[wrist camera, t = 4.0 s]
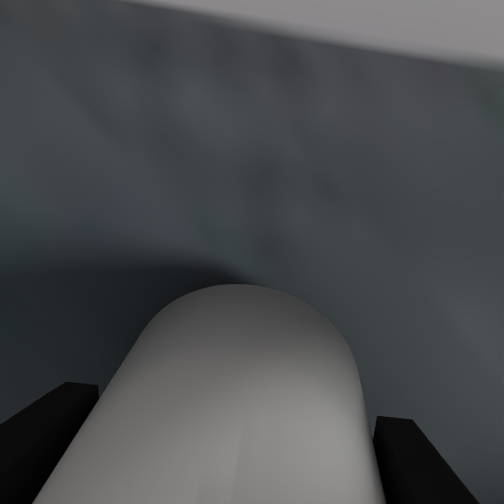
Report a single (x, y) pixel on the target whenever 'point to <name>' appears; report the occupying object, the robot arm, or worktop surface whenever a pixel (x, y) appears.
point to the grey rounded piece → (227, 411)
